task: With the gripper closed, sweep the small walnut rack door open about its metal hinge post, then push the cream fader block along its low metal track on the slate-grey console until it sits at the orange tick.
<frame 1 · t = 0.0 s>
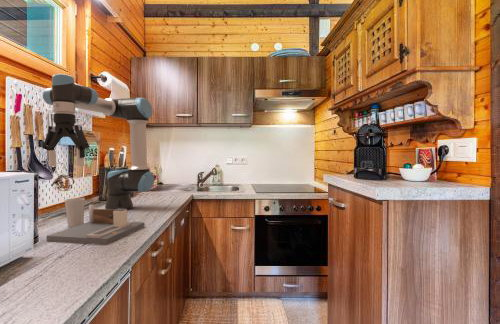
hand: (66, 166, 113), 28 cm above the countertop, fingers open, 13 cm apart
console: (99, 233, 115), on the countertop
rack door: (104, 216, 122), point 5 cm above the countertop, hinge at 0.0°
cup: (75, 225, 129), on the countertop
fader knob: (120, 217, 117), point 6 cm above the countertop, slide at 0.0 cm
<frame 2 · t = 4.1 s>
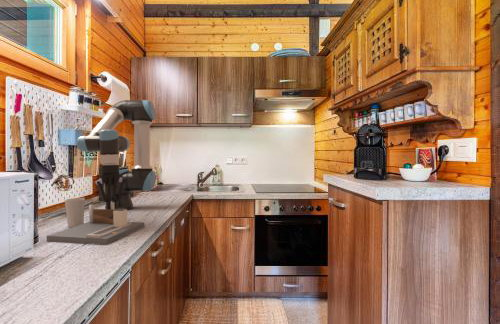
hand: (111, 216, 125), 5 cm above the countertop, fingers closed
rack door: (104, 216, 122), point 5 cm above the countertop, hinge at 0.1°, touching gripper
everything else where it was.
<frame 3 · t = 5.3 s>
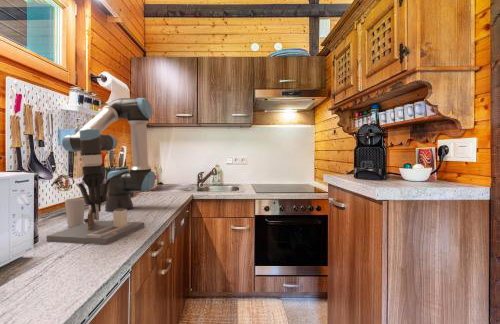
hand: (96, 219, 120), 5 cm above the countertop, fingers closed
rack door: (88, 219, 118), point 5 cm above the countertop, hinge at 52.6°, touching gripper
everything else where it was.
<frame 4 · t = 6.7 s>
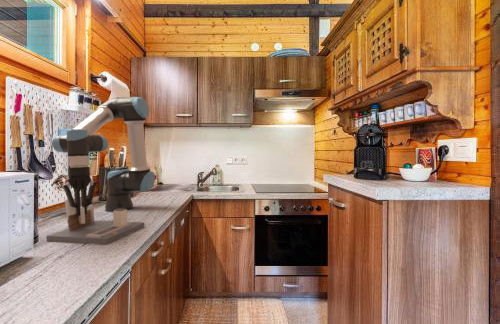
hand: (81, 223, 116), 4 cm above the countertop, fingers closed
rack door: (78, 219, 117), point 5 cm above the countertop, hinge at 84.8°, touching gripper
everything else where it was.
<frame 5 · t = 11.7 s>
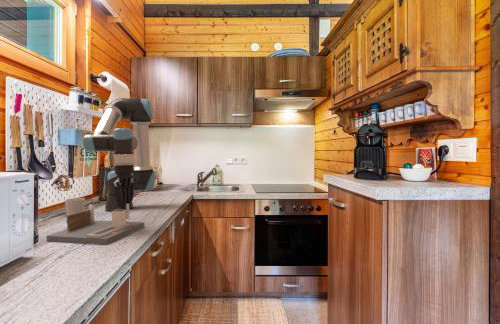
hand: (125, 218, 120), 5 cm above the countertop, fingers closed
rack door: (77, 219, 118), point 5 cm above the countertop, hinge at 87.9°
fader knob: (119, 218, 116), point 6 cm above the countertop, slide at 0.8 cm, touching gripper
everything else where it was.
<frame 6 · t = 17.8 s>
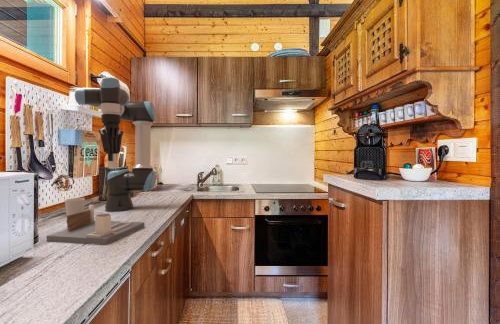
hand: (112, 168, 122), 26 cm above the countertop, fingers closed
fader knob: (103, 223, 107), point 6 cm above the countertop, slide at 10.0 cm
everything else where it was.
at the end: rack door at +88° (first picture: +0°); fader knob slide at 10.0 cm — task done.
